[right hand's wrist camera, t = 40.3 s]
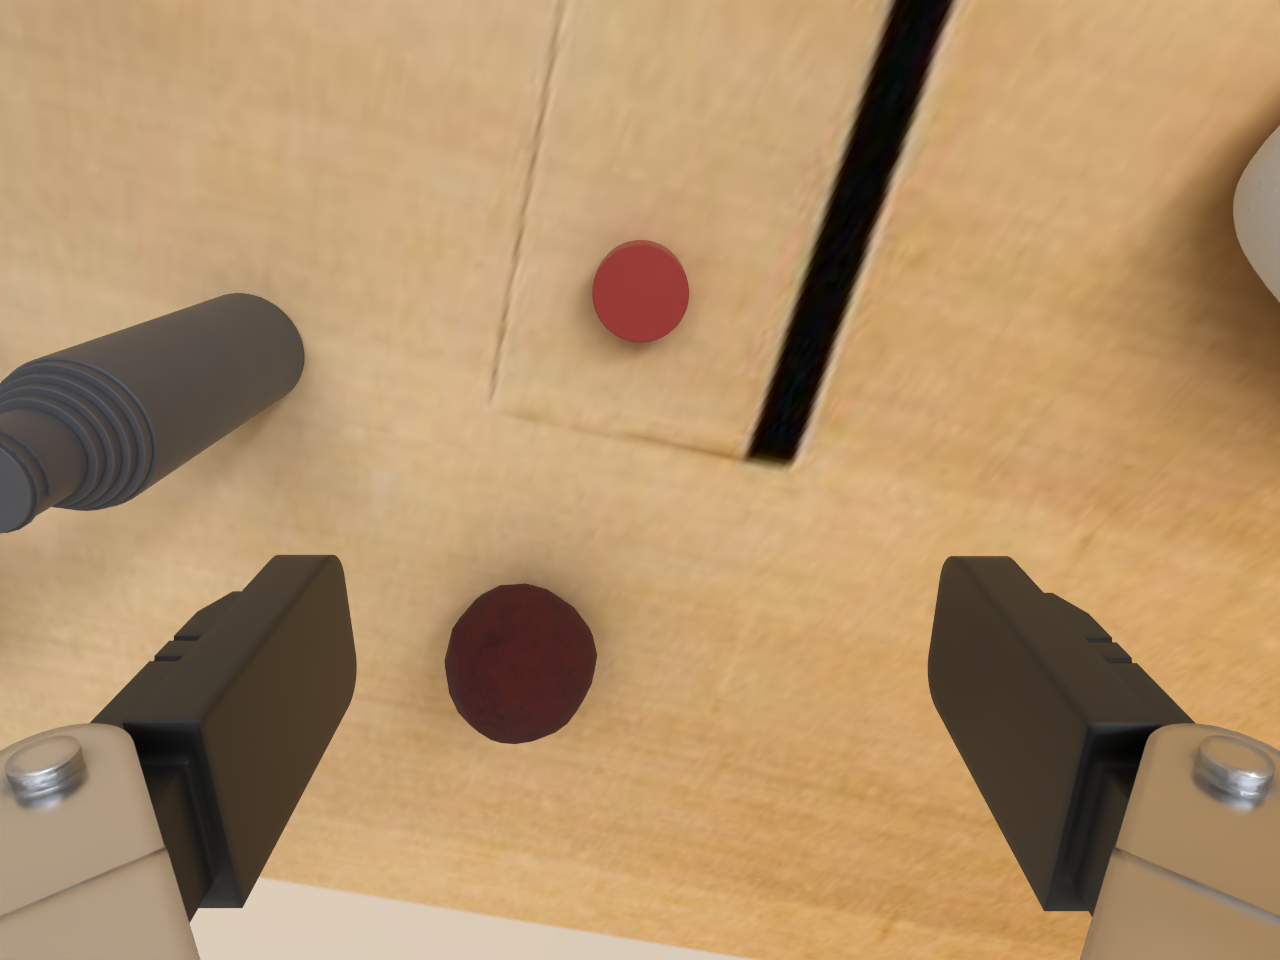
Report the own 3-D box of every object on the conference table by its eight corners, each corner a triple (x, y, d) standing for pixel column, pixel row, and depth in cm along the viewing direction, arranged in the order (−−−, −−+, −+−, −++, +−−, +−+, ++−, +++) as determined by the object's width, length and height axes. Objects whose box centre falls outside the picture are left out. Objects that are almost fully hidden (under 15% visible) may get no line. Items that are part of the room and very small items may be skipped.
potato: (488, 697, 46) (463, 787, 40) (440, 577, 44) (405, 653, 37) (616, 668, 46) (612, 754, 39) (575, 544, 43) (563, 615, 36)
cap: (705, 290, 38) (708, 297, 36) (638, 351, 39) (638, 361, 38) (643, 220, 37) (643, 223, 35) (575, 284, 38) (572, 292, 36)
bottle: (299, 413, 41) (71, 587, 24) (189, 388, 40) (-117, 548, 24) (310, 308, 39) (72, 420, 23) (195, 280, 38) (-133, 374, 22)
